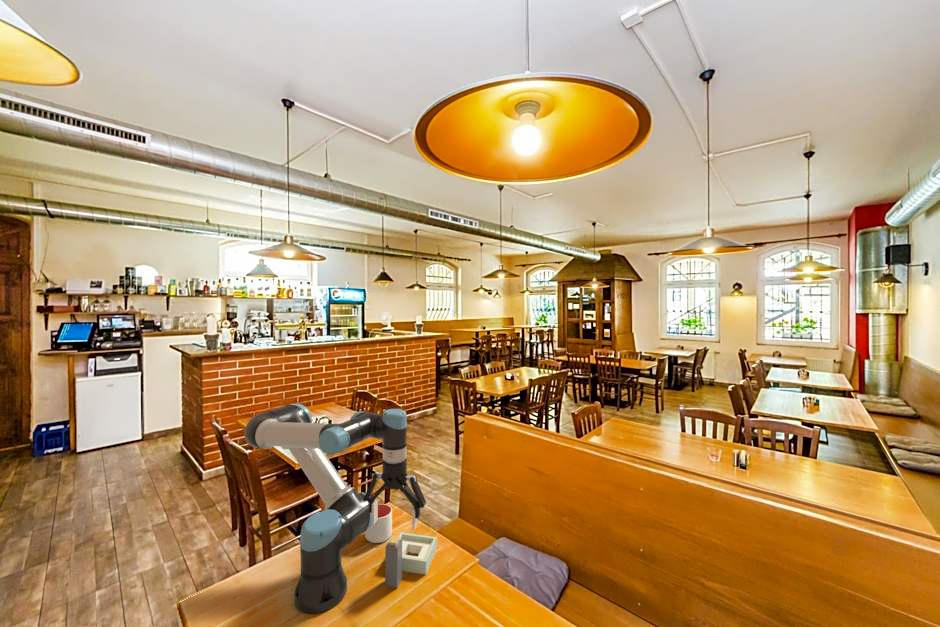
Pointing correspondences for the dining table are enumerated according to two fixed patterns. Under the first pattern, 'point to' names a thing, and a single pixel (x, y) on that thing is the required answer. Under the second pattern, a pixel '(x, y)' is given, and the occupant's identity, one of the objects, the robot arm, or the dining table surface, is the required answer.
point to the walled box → (421, 546)
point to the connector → (393, 563)
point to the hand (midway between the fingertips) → (394, 524)
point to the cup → (380, 525)
